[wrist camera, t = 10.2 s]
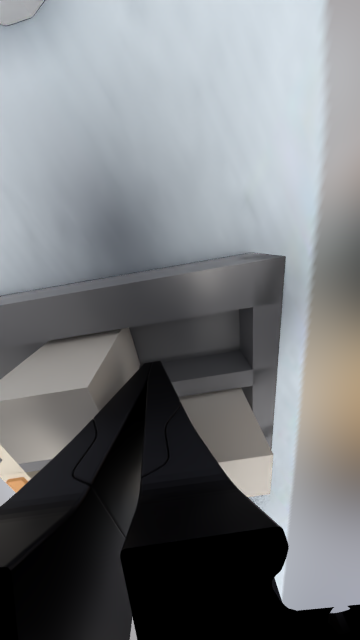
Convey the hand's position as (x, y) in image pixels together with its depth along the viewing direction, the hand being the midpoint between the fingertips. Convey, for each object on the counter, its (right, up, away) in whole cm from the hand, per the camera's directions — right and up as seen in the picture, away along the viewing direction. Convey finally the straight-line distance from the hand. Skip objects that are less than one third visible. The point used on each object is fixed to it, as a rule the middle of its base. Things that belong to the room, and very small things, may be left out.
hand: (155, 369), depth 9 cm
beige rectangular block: (+3, -3, +4) cm, 6 cm away
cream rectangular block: (-4, +1, +3) cm, 5 cm away
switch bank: (-3, -3, +6) cm, 8 cm away
